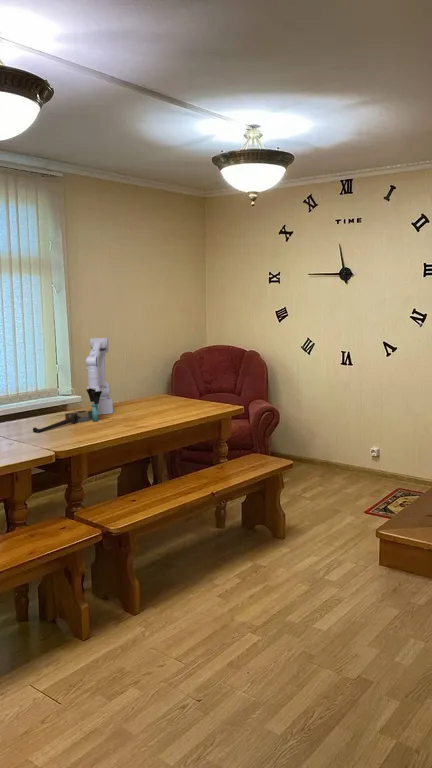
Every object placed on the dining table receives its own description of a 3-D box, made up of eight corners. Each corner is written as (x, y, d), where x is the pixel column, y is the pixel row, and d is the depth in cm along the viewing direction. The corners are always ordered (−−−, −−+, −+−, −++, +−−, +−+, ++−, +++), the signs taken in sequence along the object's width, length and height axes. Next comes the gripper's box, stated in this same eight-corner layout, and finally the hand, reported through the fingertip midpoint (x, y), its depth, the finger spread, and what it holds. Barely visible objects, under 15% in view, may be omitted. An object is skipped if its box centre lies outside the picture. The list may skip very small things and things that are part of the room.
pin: (97, 420, 345) (97, 402, 344) (100, 421, 342) (99, 403, 340) (91, 421, 344) (90, 403, 342) (93, 422, 340) (92, 404, 339)
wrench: (32, 435, 320) (75, 420, 344) (38, 436, 317) (82, 421, 342) (31, 425, 319) (74, 411, 343) (38, 427, 316) (81, 412, 340)
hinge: (96, 417, 352) (95, 409, 351) (99, 419, 347) (98, 410, 346) (64, 421, 344) (63, 412, 343) (67, 423, 339) (66, 414, 338)
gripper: (82, 377, 344) (83, 401, 346) (89, 380, 331) (91, 405, 333) (94, 376, 347) (96, 400, 349) (102, 379, 334) (103, 404, 336)
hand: (94, 402), depth 341 cm, fingers open, 7 cm apart
